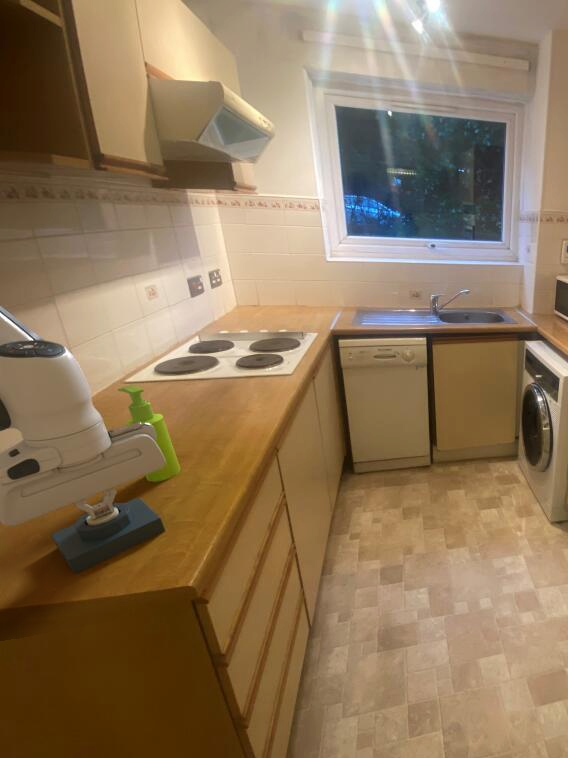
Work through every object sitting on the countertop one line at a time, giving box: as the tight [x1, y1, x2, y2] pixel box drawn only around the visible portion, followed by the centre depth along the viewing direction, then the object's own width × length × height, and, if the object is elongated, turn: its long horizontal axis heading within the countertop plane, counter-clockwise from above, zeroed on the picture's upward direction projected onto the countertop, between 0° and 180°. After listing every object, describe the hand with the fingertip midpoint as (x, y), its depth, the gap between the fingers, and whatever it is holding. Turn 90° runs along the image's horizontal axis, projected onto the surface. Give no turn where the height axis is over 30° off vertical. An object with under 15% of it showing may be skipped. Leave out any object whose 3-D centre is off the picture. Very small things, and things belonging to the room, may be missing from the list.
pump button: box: [86, 507, 119, 526], centre depth 73 cm, size 4×4×2 cm
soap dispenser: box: [117, 385, 181, 483], centre depth 89 cm, size 6×7×20 cm
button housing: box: [50, 497, 166, 575], centre depth 74 cm, size 12×10×5 cm
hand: (102, 514), depth 73 cm, fingers closed, pressing on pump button
